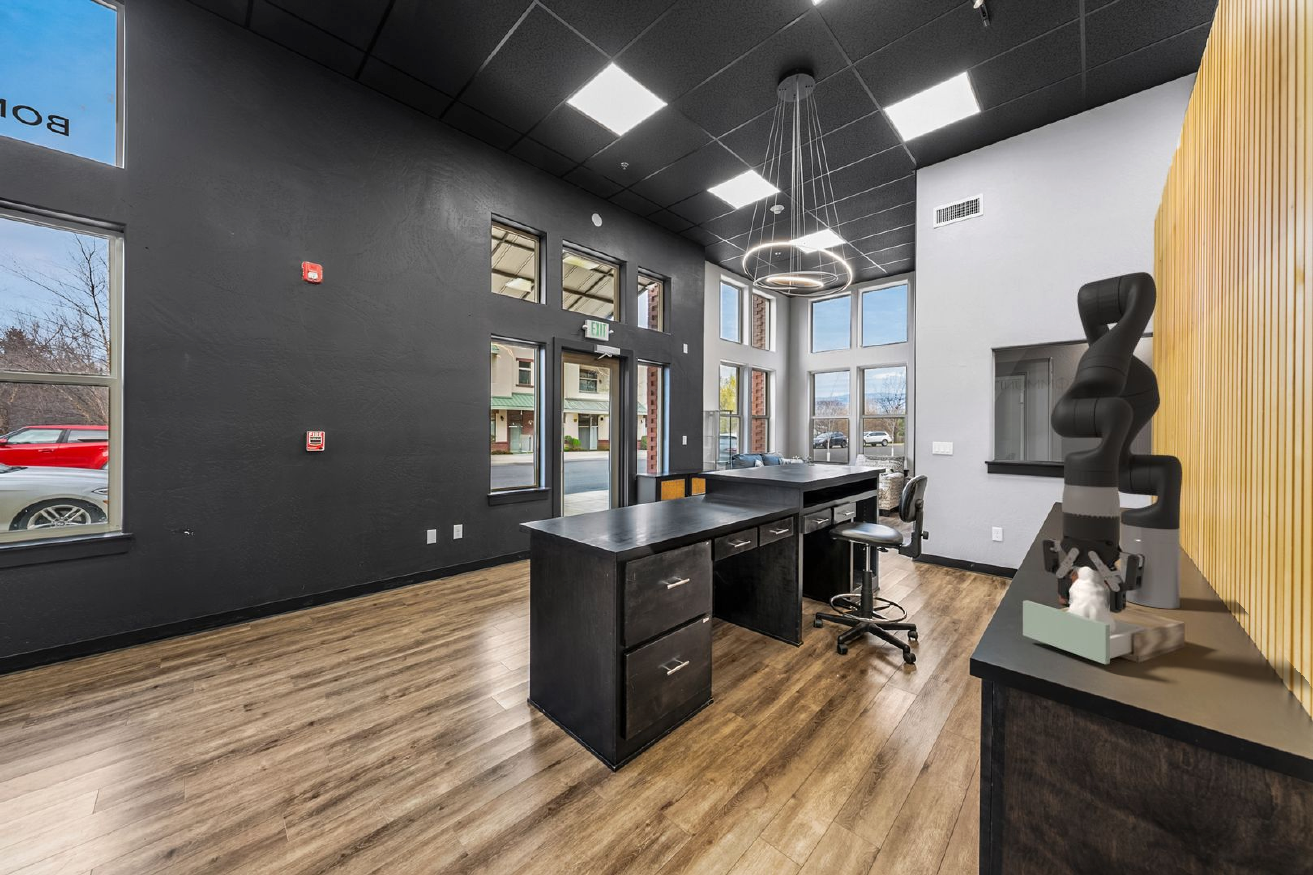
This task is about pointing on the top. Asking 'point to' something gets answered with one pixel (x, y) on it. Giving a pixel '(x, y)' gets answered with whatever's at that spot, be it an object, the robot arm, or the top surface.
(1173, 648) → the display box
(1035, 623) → the drawer
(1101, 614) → the white rounded figure
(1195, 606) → the top surface
